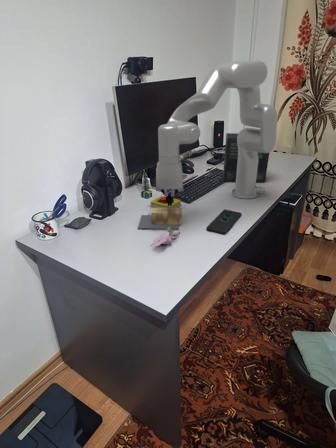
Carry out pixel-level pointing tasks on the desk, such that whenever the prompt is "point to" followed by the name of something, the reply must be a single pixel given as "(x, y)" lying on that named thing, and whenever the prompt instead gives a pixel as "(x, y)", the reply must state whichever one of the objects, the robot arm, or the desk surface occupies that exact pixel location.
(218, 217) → the smart home device
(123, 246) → the desk surface
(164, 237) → the pink creature figurine
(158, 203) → the emergency button
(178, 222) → the oak block
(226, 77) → the robot arm
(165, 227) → the charcoal mat
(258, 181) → the headset box
